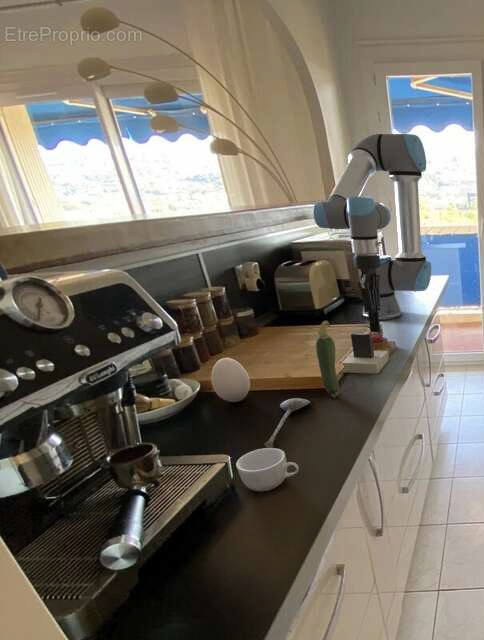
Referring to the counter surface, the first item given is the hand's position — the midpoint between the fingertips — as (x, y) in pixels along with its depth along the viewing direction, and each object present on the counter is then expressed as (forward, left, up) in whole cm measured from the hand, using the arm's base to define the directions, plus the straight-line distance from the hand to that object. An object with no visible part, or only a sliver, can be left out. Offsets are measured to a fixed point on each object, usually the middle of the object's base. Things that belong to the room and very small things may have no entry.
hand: (375, 331), depth 141 cm
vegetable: (+33, -1, -7) cm, 34 cm away
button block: (0, 0, -7) cm, 7 cm away
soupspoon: (+48, -6, -7) cm, 49 cm away
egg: (+38, -24, -7) cm, 45 cm away
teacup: (+70, +3, -7) cm, 70 cm away
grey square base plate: (+12, 0, -7) cm, 14 cm away
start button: (0, 0, -3) cm, 3 cm away
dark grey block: (+12, 0, -4) cm, 13 cm away
